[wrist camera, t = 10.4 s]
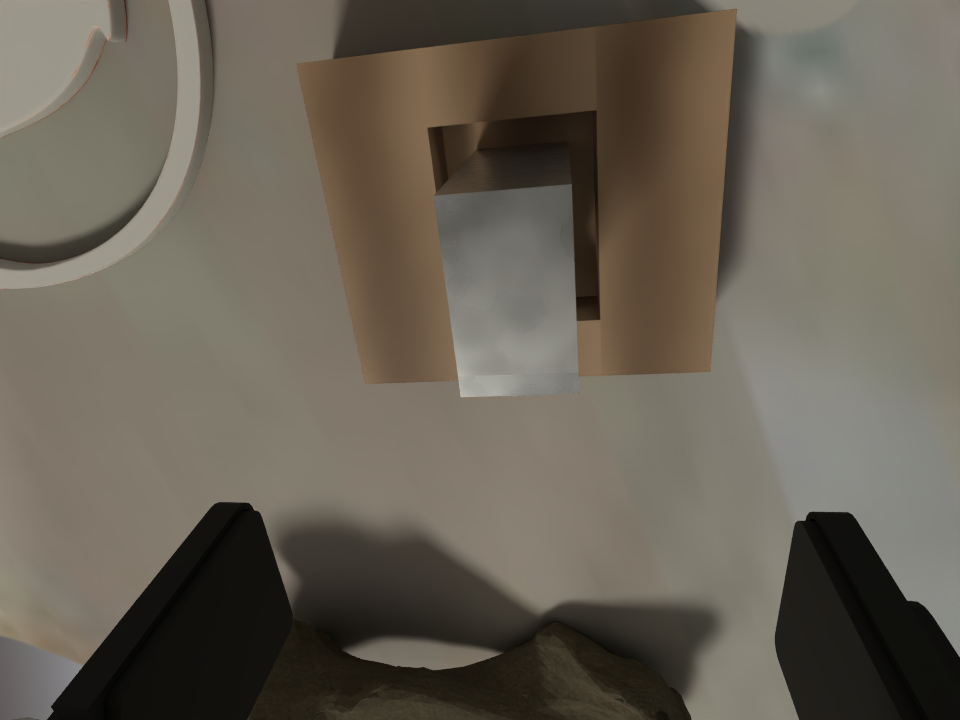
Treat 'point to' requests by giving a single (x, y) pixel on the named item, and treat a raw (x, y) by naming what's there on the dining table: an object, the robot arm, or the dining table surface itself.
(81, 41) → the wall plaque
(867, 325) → the dining table surface
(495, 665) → the bone
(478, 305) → the grey rectangular prism
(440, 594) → the dining table surface
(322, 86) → the well block
